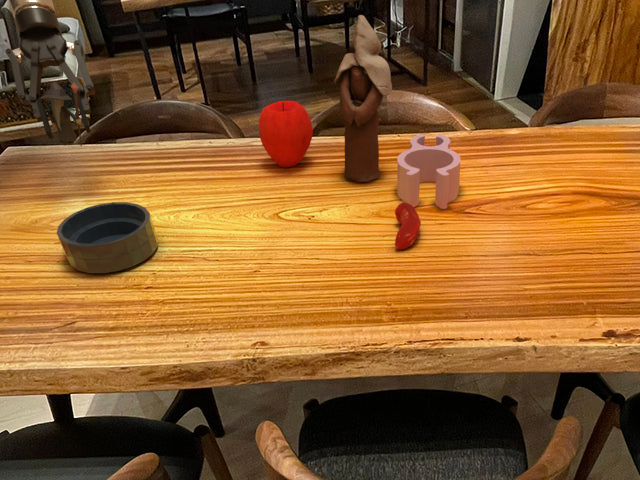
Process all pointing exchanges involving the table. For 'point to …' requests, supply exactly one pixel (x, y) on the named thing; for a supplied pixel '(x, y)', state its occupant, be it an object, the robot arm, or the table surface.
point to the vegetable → (406, 225)
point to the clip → (428, 170)
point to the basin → (108, 237)
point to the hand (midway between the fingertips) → (68, 132)
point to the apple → (285, 132)
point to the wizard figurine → (63, 113)
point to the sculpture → (362, 102)
